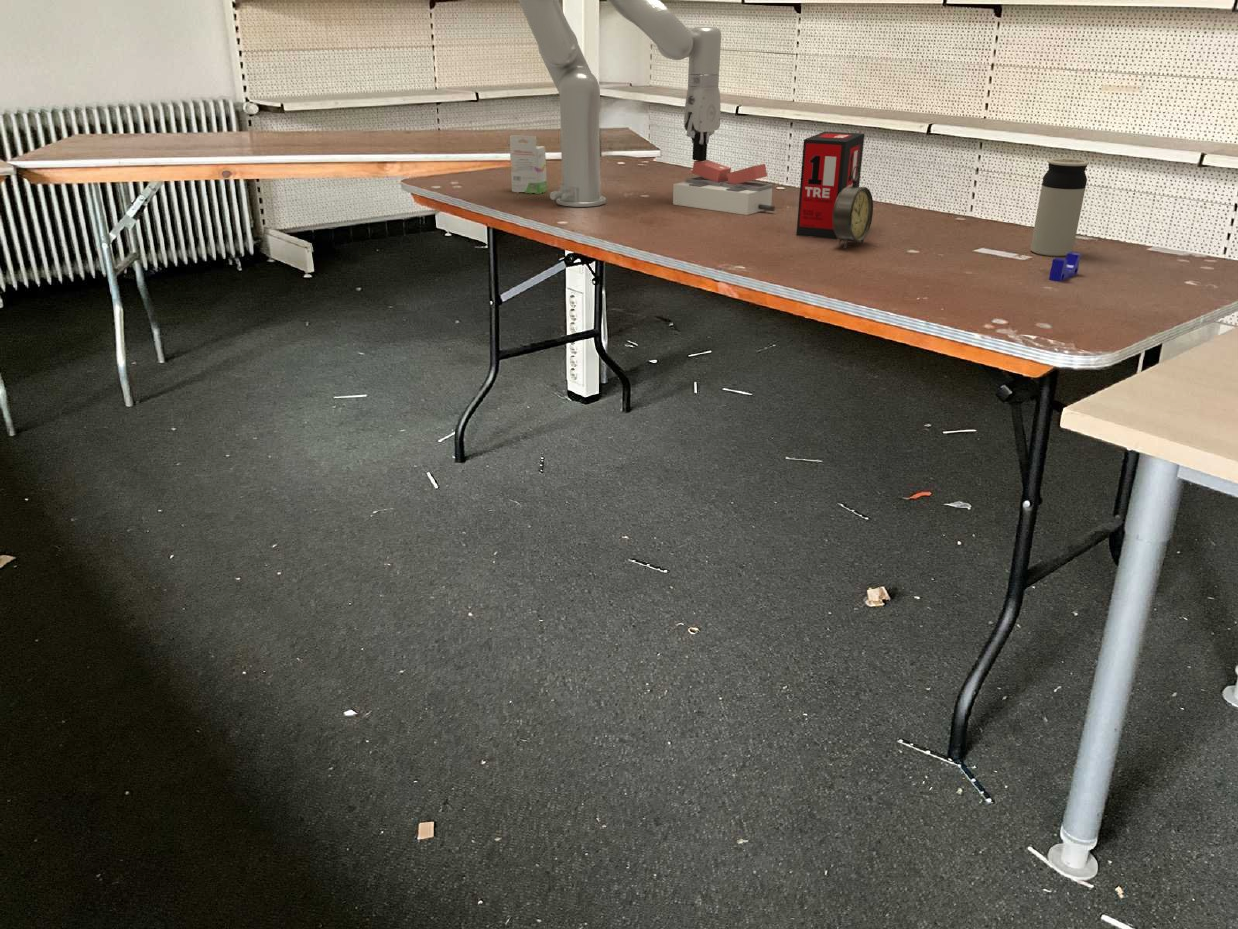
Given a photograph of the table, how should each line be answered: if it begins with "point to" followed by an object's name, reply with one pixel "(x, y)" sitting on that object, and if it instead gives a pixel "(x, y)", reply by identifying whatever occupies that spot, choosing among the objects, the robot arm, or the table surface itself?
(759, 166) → the block
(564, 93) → the robot arm
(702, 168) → the rocker
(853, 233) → the alarm clock
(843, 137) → the cleaning product box
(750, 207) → the power strip
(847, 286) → the table surface
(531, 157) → the ink box
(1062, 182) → the travel mug
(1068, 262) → the cable holder
